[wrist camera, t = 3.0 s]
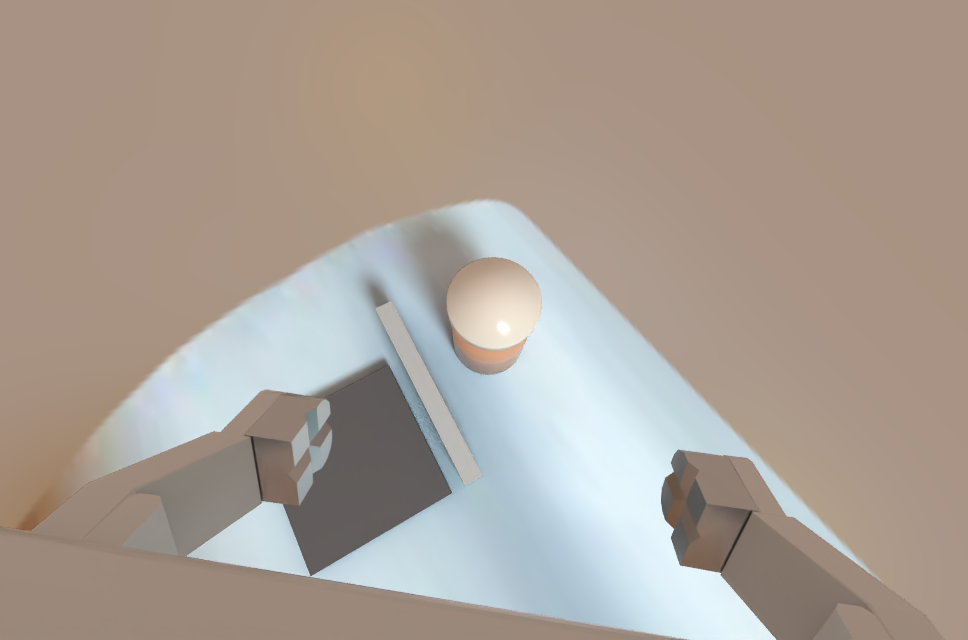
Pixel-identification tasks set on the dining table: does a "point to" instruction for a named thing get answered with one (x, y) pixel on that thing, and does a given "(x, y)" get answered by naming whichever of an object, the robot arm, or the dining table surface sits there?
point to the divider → (429, 394)
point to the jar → (492, 313)
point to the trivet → (366, 473)
